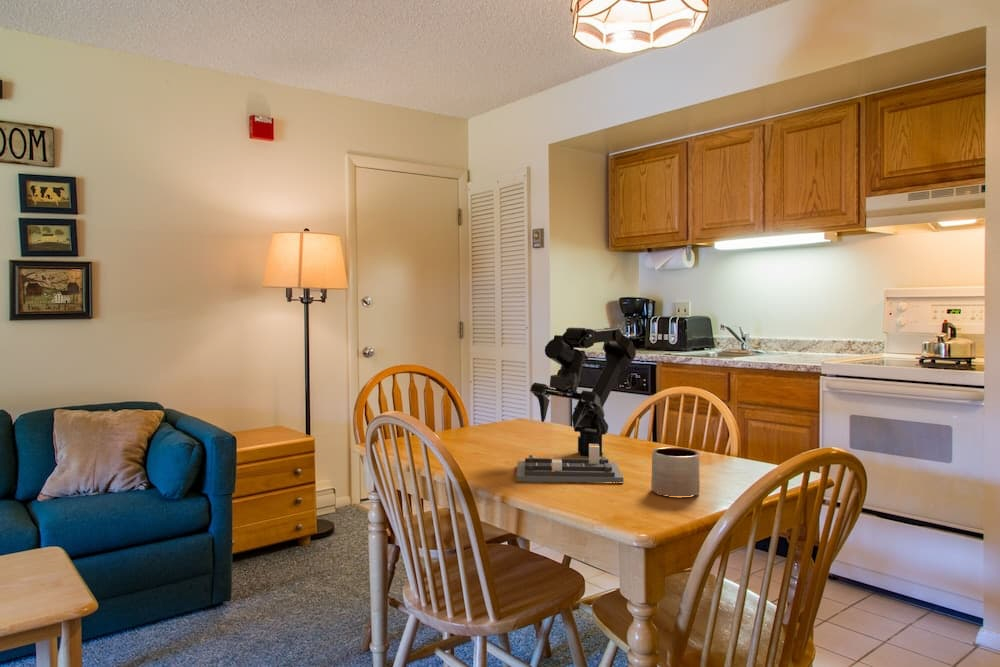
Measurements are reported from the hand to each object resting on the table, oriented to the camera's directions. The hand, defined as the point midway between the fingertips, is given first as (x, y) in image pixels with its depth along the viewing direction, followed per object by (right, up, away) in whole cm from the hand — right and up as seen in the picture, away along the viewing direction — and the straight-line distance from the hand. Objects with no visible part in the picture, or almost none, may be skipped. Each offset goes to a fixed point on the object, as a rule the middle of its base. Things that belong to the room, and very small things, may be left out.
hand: (558, 424), depth 185 cm
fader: (+9, -9, -7) cm, 15 cm away
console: (+2, -11, -11) cm, 16 cm away
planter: (+25, -12, -27) cm, 39 cm away
